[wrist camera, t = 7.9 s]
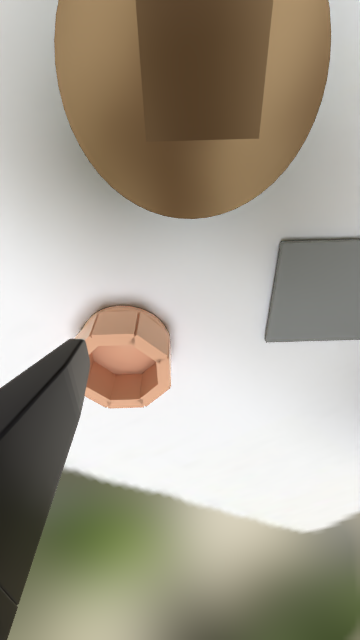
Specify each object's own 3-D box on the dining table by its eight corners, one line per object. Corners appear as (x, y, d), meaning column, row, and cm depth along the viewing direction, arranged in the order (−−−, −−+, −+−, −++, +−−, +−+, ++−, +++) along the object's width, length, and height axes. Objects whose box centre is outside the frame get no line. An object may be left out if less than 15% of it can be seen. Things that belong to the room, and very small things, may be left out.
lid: (356, -128, 9) (550, -382, 5) (294, 211, 15) (352, 258, 10) (26, -119, 9) (-131, -363, 5) (88, 216, 15) (49, 267, 10)
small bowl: (168, 304, 22) (167, 332, 20) (172, 373, 26) (172, 406, 24) (72, 306, 22) (57, 336, 20) (90, 376, 26) (80, 409, 24)
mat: (435, 236, 20) (439, 239, 20) (390, 335, 24) (393, 338, 24) (281, 241, 20) (282, 243, 20) (264, 339, 24) (266, 342, 24)
